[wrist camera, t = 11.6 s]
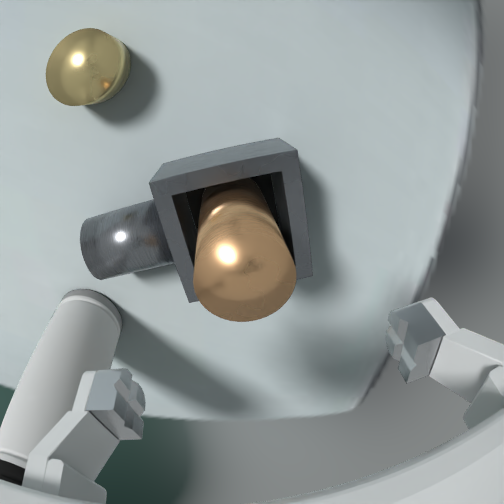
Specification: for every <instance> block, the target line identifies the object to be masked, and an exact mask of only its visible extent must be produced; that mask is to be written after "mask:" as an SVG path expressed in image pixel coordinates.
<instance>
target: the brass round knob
mask: <svg viewBox="0 0 504 504" xmlns="http://www.w3.org/2000/svg"><path fill="white" fill-rule="evenodd" d="M130 67H131V60H130V55H129V52H128V49H127V48H126V46H125V45H124V44H123V43H122V42H121V41H120V40H118V39H116V38H114V37H113V36H111V35H109V34H107V33H105V32H103V31H101V30H98V29H93V28H87V29H81V30H78V31H75V32H73V33H71V34H69V35H68V36H66V37H65V38H64V39H63V40H62V41H61V42H60V43H59V44H58V45H57V46H56V47H55V49H54V50H53V52H52V54H51V56H50V58H49V61H48V64H47V68H46V82H47V86H48V89H49V91H50V93H51V94H52V96H53V97H54V98H55V99H56V100H57V101H59V102H61V103H63V104H65V105H69V106H80V105H89V104H97V103H101V102H104V101H106V100H108V99H110V98H112V97H113V96H114V95H116V94H117V93H118V92H119V91H120V90H121V88H122V87H123V86H124V84H125V82H126V80H127V78H128V76H129V72H130Z"/></svg>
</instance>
